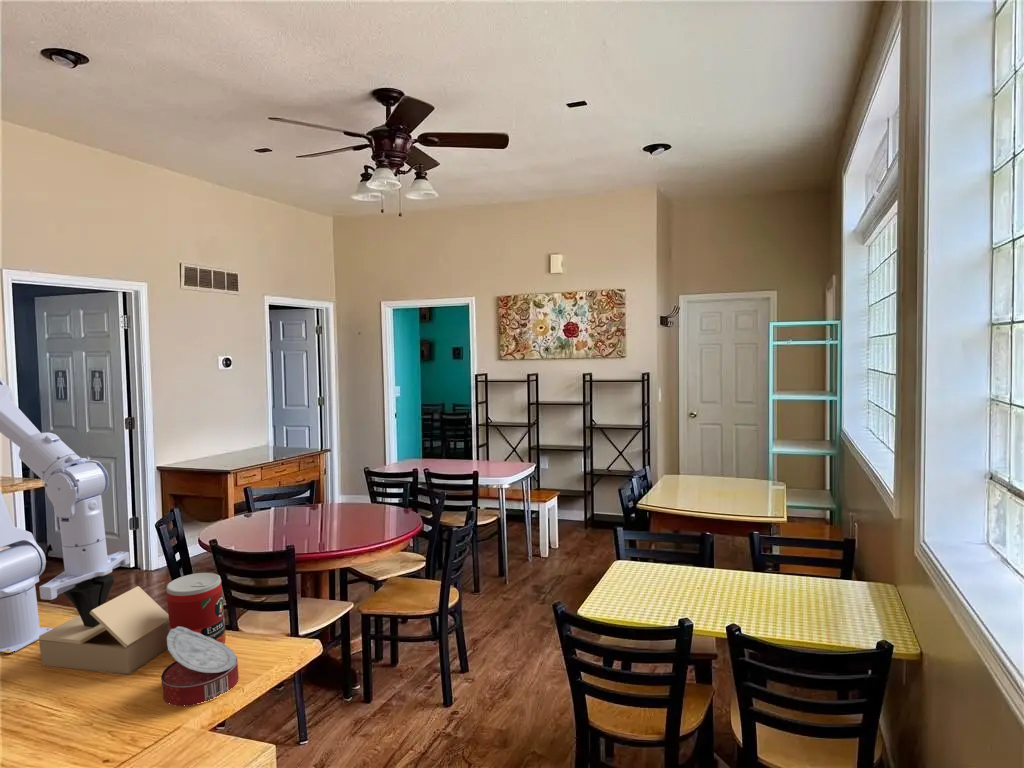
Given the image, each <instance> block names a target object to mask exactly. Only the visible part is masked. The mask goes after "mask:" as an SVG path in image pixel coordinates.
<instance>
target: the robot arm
mask: <svg viewBox="0 0 1024 768" xmlns="http://www.w3.org/2000/svg"><path fill="white" fill-rule="evenodd" d="M13 398H14V397H13V391H12V387H10V386H9V385H7V383H6V382H5V381H4V380H3V379H2V378H1V377H0V433H1V435H3V436H4V437H5V438H7V439H8V440H9V441H11V442H12V443H13V444H15V445H16V446H17V447H19V452H18V459H19V460H20V461H21V462H23V463H24V464H25V465H26V466H27V468H29V469H30V470H31V471H32V472H33V473H34V474H35V475H36V476H38V478H40V480H42V481H43V482H44V483H45V484H46V486H45V487H44V488H45V493H46V496H47V498H48V499H49V502H51V504H52V506H53V513H54V514H55V516H56V517H57V518H58V520H59V521H58V522H59V530H60V538H61V540H60V541H61V548H62V557H63V566H64V570H63V571H62V572H61V573H60V574H58V575H57V576H55V577H54V578H52V579H51V580H49V581H48V582H46V583H44V584H42V585H40V586H39V587H38V588H39V597H40V599H41V600H46V601H47V600H49V601H53V600H54V599H56V598H57V597H58V595H60V594H61V595H62V594H64V595H65V596H66V597H67V598H68V599H69V600H70V602H72V604H73V605H74V607H75V609H76V610H77V612H78V614H79V615H80V617H81V619H82V621H83V624H84V626H89V627H95V626H97V625H99V624H100V623H99V622H98V621H97V620H96V619H95V618H94V617H93V616H92V615H91V614H90V612H91V610H93V609H95V608H97V607H99V606H101V605H103V604H104V603H106V602H107V598H108V595H109V593H110V591H111V588H112V586H113V585H114V583H115V576H114V575H112V574H110V573H112V572H113V570H114V569H116V568H118V567H121V566H127V565H129V564H131V563H130V562H131V561H130V553H129V551H117V552H115V553H111V554H109V555H108V550H107V549H108V548H107V539H106V529H105V519H104V510H103V509H104V508H103V499H102V496H103V495H104V494H106V493H107V491H108V489H109V486H110V478H109V477H110V476H109V473H108V472H107V469H106V468H105V467H104V465H102V462H100V461H98V460H95V459H88V458H86V457H81V456H79V455H78V454H77V453H76V452H74V450H73V449H71V448H70V447H69V446H68V445H67V444H66V443H65V442H64V441H62V439H61V438H60V437H59V436H58V435H57V434H56V433H52V432H41V431H40V430H39V429H38V428H37V427H36V426H35V424H33V422H32V421H31V420H30V419H29V418H28V417H27V416H26V414H25V413H24V412H23V411H22V410H21V409H20V408H19V407H18V406H17V404H16V403H14V402H13V401H14V399H13ZM4 499H5V498H4V496H3V493H2V491H1V489H0V549H1V548H5V547H7V548H5V549H2V550H0V652H13V651H15V652H18V651H19V650H21V649H23V648H25V647H27V646H28V645H30V644H32V643H34V642H36V641H39V640H40V639H39V636H40V635H42V634H44V633H46V632H48V631H50V630H52V629H54V628H52V627H43V626H40V618H39V609H38V608H39V607H38V599H37V590H36V584H37V583H39V582H40V578H39V577H40V576H41V575H42V574H43V573H44V571H45V569H46V564H47V563H46V562H47V560H46V554H45V552H44V551H43V549H42V548H41V546H39V545H38V543H37V541H36V540H35V537H34V535H33V533H32V532H30V531H28V530H26V529H25V530H24V529H22V528H19V527H16V526H15V525H14V524H13V521H12V518H11V515H10V513H9V510H8V507H7V505H6V502H5V500H4ZM79 615H78V616H79ZM6 650H8V651H6ZM13 653H14V652H13Z"/></svg>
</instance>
